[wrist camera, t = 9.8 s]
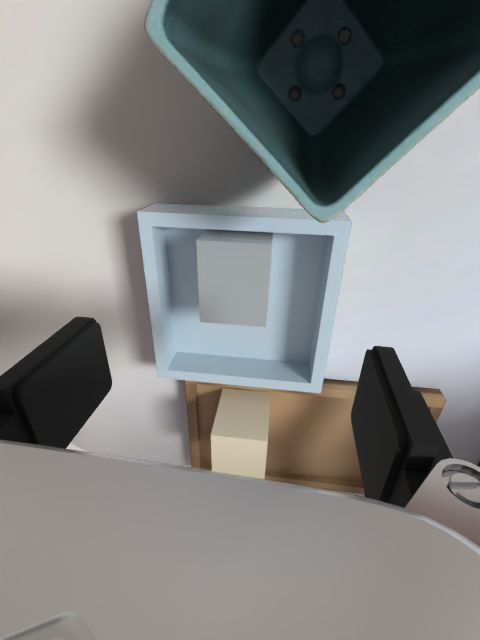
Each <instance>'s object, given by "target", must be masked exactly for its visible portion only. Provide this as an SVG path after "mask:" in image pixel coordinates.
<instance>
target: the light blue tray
mask: <svg viewBox="0 0 480 640" xmlns="http://www.w3.org/2000/svg"><path fill="white" fill-rule="evenodd" d="M137 217H138V225H139V233H140V241H141V248H142V256H143V264H144V272H145V280H146V288H147V296H148V304H149V312H150V320H151V328H152V336H153V343H154V351H155V359H156V367H157V375H158V378H167V379H177V380H188V381H198V382H208V383H218V384H229V385H239V386H249V387H260V388H270V389H280V390H291V391H301V392H311V393H321V390H322V384H323V379H324V373H325V368H326V362H327V357H328V351H329V346H330V340H331V335H332V329H333V324H334V318H335V313H336V307H337V302H338V296H339V290H340V285H341V279H342V274H343V268H344V263H345V257H346V252H347V246H348V241H349V235H350V230H351V224H352V221H351V220H350V218H349V217H348V216H347V215H346V214H345V212H344V211H343V212H342V213H341V214H339V215H338V216H337V217H335V218H334V219H333V220H331V221H329V222H325V223H321V222H318V221H317V220H315V219H314V218H312V217H311V216H310V215H309V214H308V213H307V212H306V210H305V209H285V208H262V207H239V206H216V205H193V204H170V203H154V204H152V205H150V206H147V207H145V208H143V209H141V210H139V211H137ZM206 229H214V230H233V231H253V232H273V247H272V261H271V276H270V290H269V303H268V312H267V321H266V327H256V326H243V325H230V324H218V323H205V322H200V314H199V291H198V268H197V245H196V240H197V239H198V238H199V237H200V236H201V234H202V233H203V232H204V231H205V230H206Z"/></svg>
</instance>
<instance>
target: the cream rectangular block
mask: <svg viewBox="0 0 480 640" xmlns="http://www.w3.org/2000/svg"><path fill="white" fill-rule="evenodd" d="M270 397H271V393H265V392H255V391H245V390H235V389H225V388H223V389H222V393H221V397H220V401H219V405H218V409H217V413H216V417H215V421H214V424H213V428H212V432H211V458H212V471H214V472H221V473H227V474H233V475H239V476H246V477H254V478H262V479H265V467H266V456H267V445H268V430H269V413H270Z"/></svg>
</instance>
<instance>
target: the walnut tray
mask: <svg viewBox="0 0 480 640" xmlns="http://www.w3.org/2000/svg"><path fill="white" fill-rule="evenodd" d="M185 386H186V399H187V412H188V425H189V439H190V452H191V465H192V468H195V469H202V470H208V471H212V458H211V432H212V428H213V424H214V421H215V417H216V413H217V409H218V405H219V401H220V397H221V393H222V389H223V388H225V389H235V390H245V391H255V392H265V393H271V397H270V413H269V430H268V445H267V456H266V467H265V479H264V480H271V481H277V482H283V483H289V484H295V485H301V486H306V487H314V488H322V489H330V490H338V491H346V492H354V493H362V494H365V493H364V487H363V482H362V477H361V471H360V466H359V461H358V456H357V450H356V445H355V440H354V434H353V429H352V424H351V411H352V406H353V402H354V398H355V394H356V390H357V386H358V382H353V381H342V380H332V379H323V384H322V390H321V393H311V392H301V391H291V390H280V389H270V388H260V387H249V386H239V385H229V384H218V383H208V382H198V381H188V380H185ZM412 389H413V390H417V391H419V392H420V393H421V394H422V396H423V398H424V400H425V402H426V404H427V406H428V408H429V410H430V412H431V414H432V416H433V418H434V420H435V422H436V423H437V420H438V418H439V415H440V413H441V411H442V408H443V406H444V404H445V401H446V399H445V398H444V396H443V394H442V393H441V391H440V389H429V388H418V387H412ZM252 478H254V477H252ZM258 479H262V478H258Z"/></svg>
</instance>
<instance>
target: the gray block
mask: <svg viewBox="0 0 480 640" xmlns="http://www.w3.org/2000/svg"><path fill="white" fill-rule="evenodd" d="M196 245H197V268H198V291H199V314H200V322H205V323H218V324H230V325H243V326H256V327H266V321H267V312H268V303H269V290H270V276H271V261H272V247H273V232H253V231H233V230H214V229H206V230H205V231H204V232H203V233H202V234H201V236H200V237H199V238H198V239H197V240H196Z"/></svg>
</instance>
